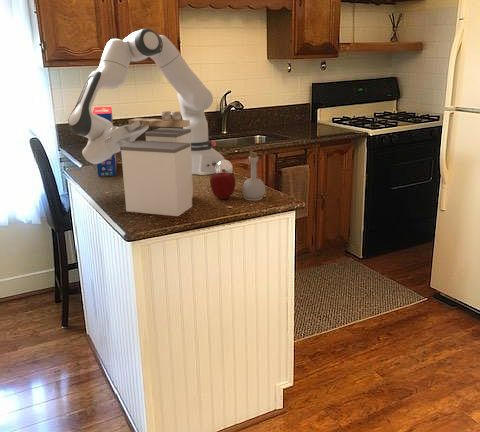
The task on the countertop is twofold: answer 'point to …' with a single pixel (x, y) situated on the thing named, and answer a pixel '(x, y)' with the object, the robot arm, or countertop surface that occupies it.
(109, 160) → the pasta box
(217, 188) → the apple
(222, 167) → the light bulb
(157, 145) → the counter block
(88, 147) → the robot arm
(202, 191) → the countertop surface
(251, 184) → the potion bottle
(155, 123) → the serving board
